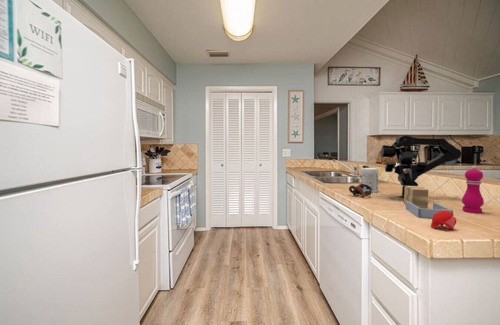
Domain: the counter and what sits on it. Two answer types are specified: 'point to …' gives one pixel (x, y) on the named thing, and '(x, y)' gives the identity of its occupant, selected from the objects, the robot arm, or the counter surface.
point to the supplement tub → (370, 178)
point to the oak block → (416, 196)
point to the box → (426, 210)
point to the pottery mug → (360, 190)
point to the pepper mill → (473, 191)
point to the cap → (443, 219)
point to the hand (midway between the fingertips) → (408, 179)
